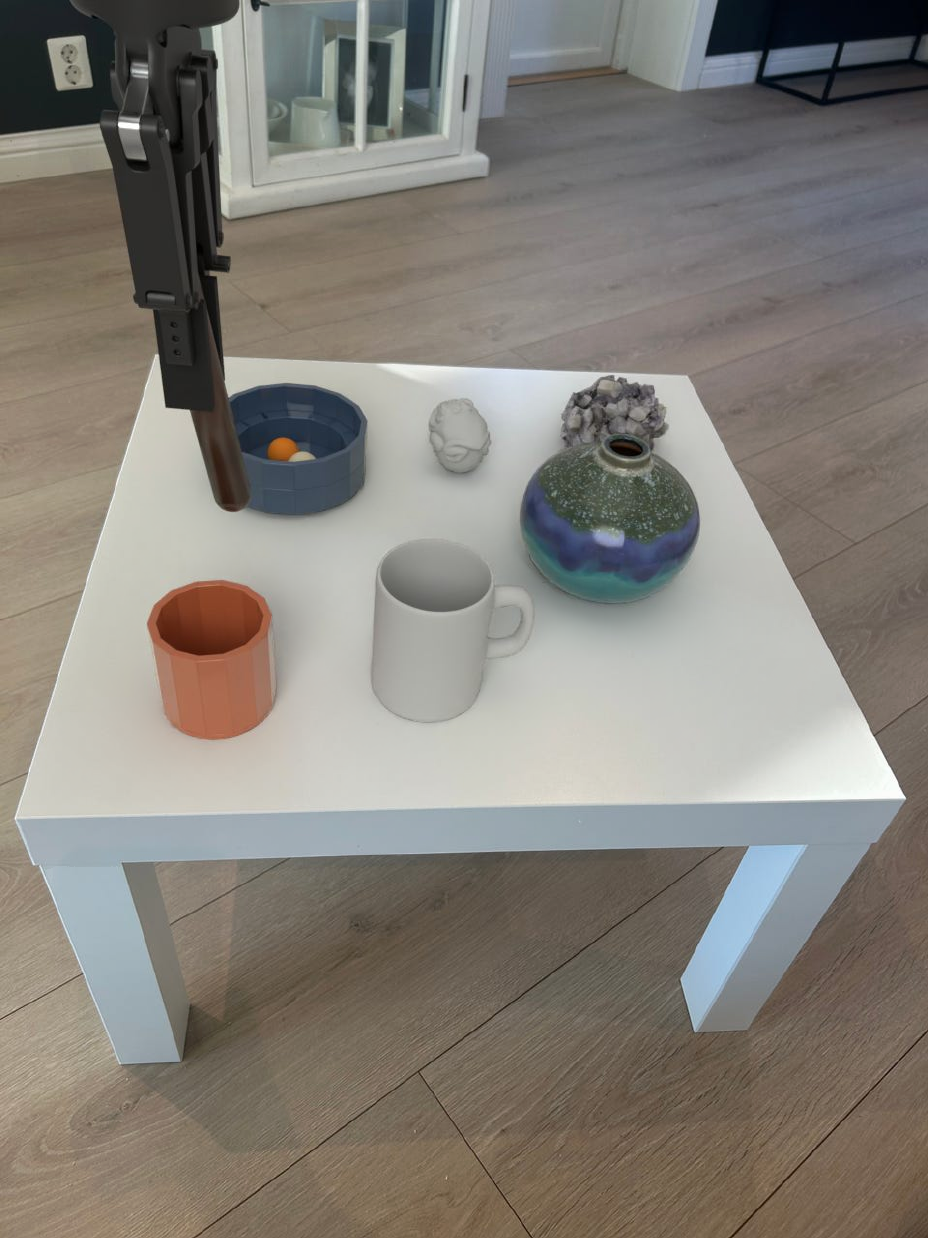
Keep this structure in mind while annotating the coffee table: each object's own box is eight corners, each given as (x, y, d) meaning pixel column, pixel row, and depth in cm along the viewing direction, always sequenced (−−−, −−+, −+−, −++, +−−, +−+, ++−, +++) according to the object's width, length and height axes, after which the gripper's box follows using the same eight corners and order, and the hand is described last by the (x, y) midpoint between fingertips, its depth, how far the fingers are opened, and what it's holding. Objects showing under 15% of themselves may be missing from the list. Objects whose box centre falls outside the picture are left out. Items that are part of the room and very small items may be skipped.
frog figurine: (463, 442, 101) (469, 382, 96) (500, 477, 97) (509, 416, 92) (413, 456, 98) (417, 395, 94) (449, 492, 94) (455, 430, 89)
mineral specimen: (556, 446, 95) (610, 355, 93) (528, 427, 103) (577, 342, 101) (650, 501, 100) (704, 415, 97) (617, 478, 108) (666, 398, 106)
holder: (149, 736, 69) (133, 656, 63) (177, 653, 75) (165, 574, 69) (264, 744, 69) (259, 666, 64) (283, 662, 75) (279, 584, 70)
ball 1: (282, 457, 95) (258, 461, 93) (288, 430, 94) (264, 433, 91) (301, 472, 94) (278, 476, 92) (308, 445, 92) (284, 448, 90)
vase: (668, 528, 93) (704, 406, 84) (693, 638, 82) (737, 510, 73) (510, 514, 92) (529, 389, 83) (512, 622, 81) (535, 492, 72)
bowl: (202, 512, 88) (196, 456, 84) (232, 430, 99) (228, 376, 95) (357, 525, 89) (358, 471, 85) (371, 442, 99) (372, 390, 95)
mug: (376, 727, 71) (382, 618, 64) (365, 647, 77) (369, 538, 70) (534, 716, 73) (556, 609, 66) (510, 639, 80) (529, 533, 72)
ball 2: (302, 494, 92) (278, 472, 92) (323, 473, 93) (300, 452, 93) (306, 483, 89) (281, 461, 89) (327, 462, 90) (303, 440, 90)
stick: (210, 513, 63) (129, 227, 50) (234, 494, 64) (161, 212, 52) (238, 523, 62) (163, 234, 49) (262, 503, 63) (194, 218, 51)
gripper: (194, -55, 36) (235, 471, 52) (262, -105, 47) (279, 339, 63) (-11, -78, 36) (93, 459, 52) (108, -123, 47) (163, 328, 63)
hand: (196, 392), depth 57 cm, fingers closed on stick, 2 cm apart
